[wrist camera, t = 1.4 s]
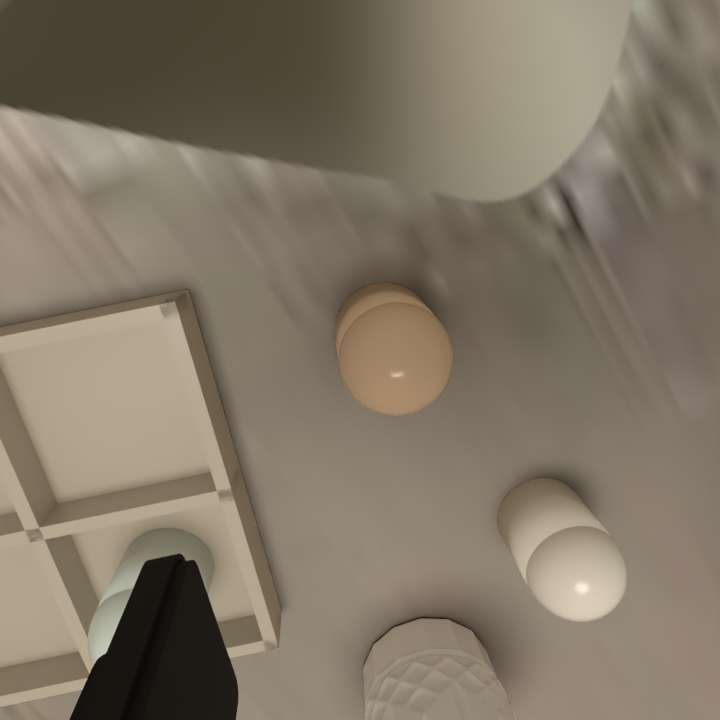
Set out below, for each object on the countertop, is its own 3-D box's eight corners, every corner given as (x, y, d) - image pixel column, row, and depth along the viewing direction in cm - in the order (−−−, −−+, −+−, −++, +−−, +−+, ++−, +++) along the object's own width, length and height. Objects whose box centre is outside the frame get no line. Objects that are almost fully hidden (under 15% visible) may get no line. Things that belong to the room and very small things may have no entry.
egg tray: (188, 289, 23) (174, 301, 21) (281, 610, 29) (278, 647, 26) (-217, 370, 23) (-276, 392, 21) (-47, 679, 28) (-78, 723, 26)
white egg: (576, 470, 28) (646, 548, 22) (582, 541, 29) (649, 633, 23) (492, 487, 27) (540, 570, 22) (501, 558, 29) (549, 654, 23)
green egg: (200, 519, 26) (168, 617, 20) (224, 592, 27) (200, 704, 22) (110, 538, 26) (52, 642, 20) (139, 610, 27) (92, 727, 21)
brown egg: (422, 273, 24) (457, 304, 18) (436, 365, 25) (473, 421, 19) (325, 293, 24) (329, 330, 18) (344, 384, 25) (354, 446, 19)
